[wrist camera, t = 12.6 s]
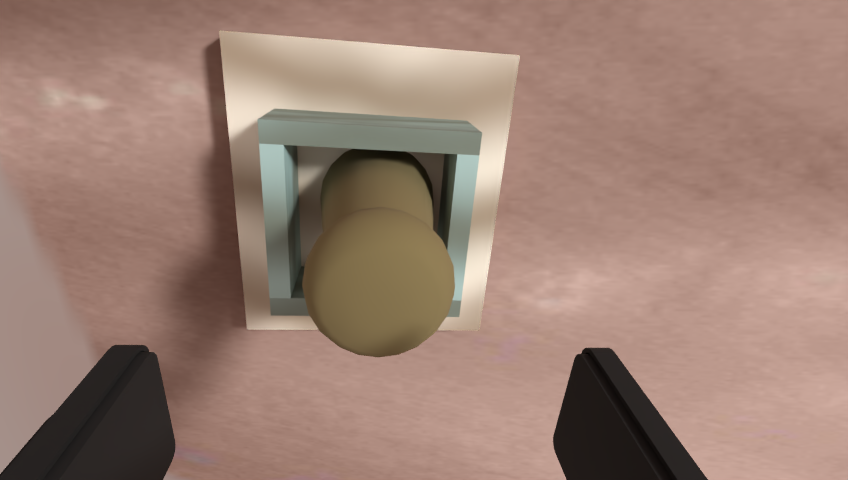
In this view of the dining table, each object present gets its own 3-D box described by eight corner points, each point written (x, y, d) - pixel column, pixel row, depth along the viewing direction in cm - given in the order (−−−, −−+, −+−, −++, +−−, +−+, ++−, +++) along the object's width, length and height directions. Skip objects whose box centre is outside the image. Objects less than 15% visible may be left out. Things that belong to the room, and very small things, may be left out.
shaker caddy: (228, 31, 21) (189, 27, 17) (511, 54, 23) (544, 57, 19) (253, 315, 28) (229, 368, 23) (474, 317, 29) (492, 367, 25)
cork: (321, 249, 25) (285, 387, 15) (319, 139, 22) (274, 214, 12) (429, 252, 26) (465, 384, 15) (438, 145, 23) (487, 221, 13)
